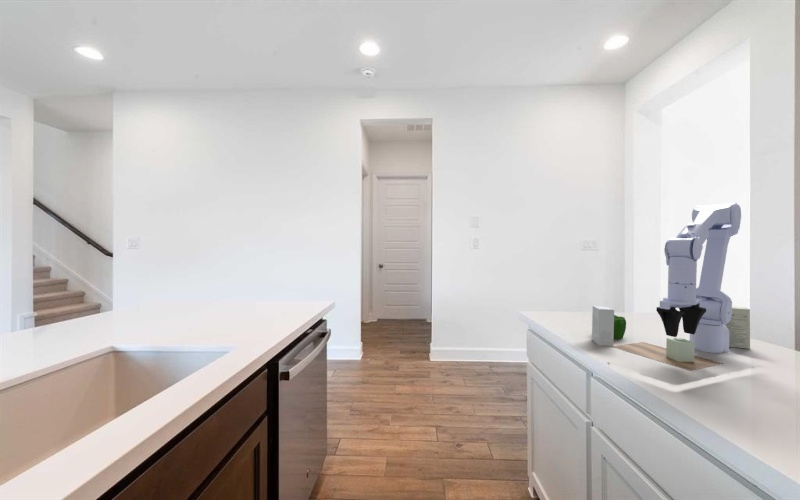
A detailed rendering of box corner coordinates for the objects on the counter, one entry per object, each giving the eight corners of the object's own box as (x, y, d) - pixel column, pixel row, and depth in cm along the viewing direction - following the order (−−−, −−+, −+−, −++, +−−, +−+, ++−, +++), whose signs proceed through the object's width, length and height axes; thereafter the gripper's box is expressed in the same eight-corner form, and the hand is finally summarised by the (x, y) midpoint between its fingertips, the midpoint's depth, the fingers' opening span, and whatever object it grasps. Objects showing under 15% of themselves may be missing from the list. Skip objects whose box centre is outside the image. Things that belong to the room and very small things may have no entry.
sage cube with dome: (666, 356, 91) (666, 337, 91) (680, 356, 91) (681, 337, 91) (678, 361, 87) (679, 341, 87) (693, 361, 87) (694, 341, 87)
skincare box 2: (745, 346, 106) (747, 307, 105) (750, 349, 102) (751, 309, 102) (718, 342, 109) (719, 304, 109) (721, 345, 105) (722, 307, 105)
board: (642, 345, 105) (642, 341, 105) (723, 368, 86) (723, 363, 86) (611, 350, 100) (611, 346, 100) (690, 375, 81) (690, 370, 81)
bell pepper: (600, 335, 117) (601, 306, 117) (628, 340, 111) (629, 310, 111) (592, 339, 111) (592, 309, 111) (621, 345, 105) (621, 313, 105)
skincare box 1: (614, 349, 100) (614, 309, 100) (598, 348, 101) (599, 309, 101) (605, 344, 106) (606, 306, 106) (591, 343, 107) (591, 305, 107)
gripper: (681, 280, 95) (680, 328, 95) (647, 282, 90) (646, 333, 90) (712, 283, 89) (710, 335, 89) (677, 285, 83) (676, 340, 84)
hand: (680, 334), depth 89 cm, fingers open, 7 cm apart
